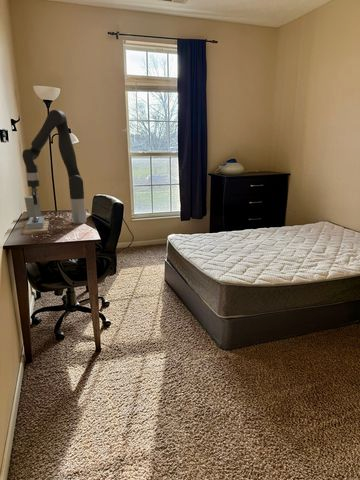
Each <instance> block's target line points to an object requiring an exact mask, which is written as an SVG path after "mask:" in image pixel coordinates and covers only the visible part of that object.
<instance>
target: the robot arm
mask: <svg viewBox="0 0 360 480" xmlns="http://www.w3.org/2000/svg"><path fill="white" fill-rule="evenodd" d="M55 128H56V130H57V136H58V139H57V140H58V141H57V142H58V144H57V145H58V149H59V153H60V156H61V159H62V162H63V164H64V166H65V168H66V172H67V176H68V177H67V178H68V189H69V198H70V209H71V219H72V220H71V221H72V223H73V224H85V223H87V208H86V204H85V191H84V179H83V178H82V177H81V174H80V171H79V169H78V164H77V157H76V152H75V148H74V144H73V142H72V138H71V134H70V132H69V131H70V130H69V127H68V121H67V116H66V114H65V113H64V112H63V111H62V110H59V109H51V110H50V111H49V112H48V114H47V117H46V118H45V120H44V123H43V125H42V126H41V128H40V130H39V131H38V133H37V135H36V136H35V137H34V138H33V140H32V141H31V143H30V144H31V147H30V148H26V149H24V150H23V151H22V153H21V154H22V160H23V162H24V165H25V171H26V172H25V173H26V181H27V182H26V183H27V187H29V188H30V192H31V196H32V197H33V200H34V205H37V204H38V203H37V196H38V188H39V187H40V178H39V173H38V172H39V171H38V165H37V164H36V163H35V162H34V160H37V158H38V157H39V156H40V154H41V152H42V149H43V148H44V146H45V145H46V144H47V141H48V140H49V139H50V138H49V137H50V136H51V133H52V131H53V130H54V129H55ZM37 187H38V188H37Z"/></svg>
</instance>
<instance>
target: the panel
mask: <svg viewBox="0 0 360 480" xmlns="http://www.w3.org/2000/svg"><path fill="white" fill-rule="evenodd" d="M32 220H34V219H33V217H30V218H29V217H28V221H27V222H28V223H27V222H26V223H27V227H28V229H39V228H43V227H44V222H45V221H46V220H45V215H42V216H41V217H39V219H38V223H34V222H32Z"/></svg>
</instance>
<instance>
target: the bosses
mask: <svg viewBox="0 0 360 480" xmlns="http://www.w3.org/2000/svg"><path fill="white" fill-rule="evenodd" d="M33 219H34V220H32V222H34V223H38V219H39V217H33Z"/></svg>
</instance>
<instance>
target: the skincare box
mask: <svg viewBox="0 0 360 480" xmlns="http://www.w3.org/2000/svg"><path fill="white" fill-rule="evenodd" d="M24 202H25V207H26V213H27V217H28V219H29V218H30V217H41V216H43V214H42V209H41V204H40V198H39V196H38V195H37V203H38V204H37V205H34V200H33V197H32V195H31V196H26V197H24Z"/></svg>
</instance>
